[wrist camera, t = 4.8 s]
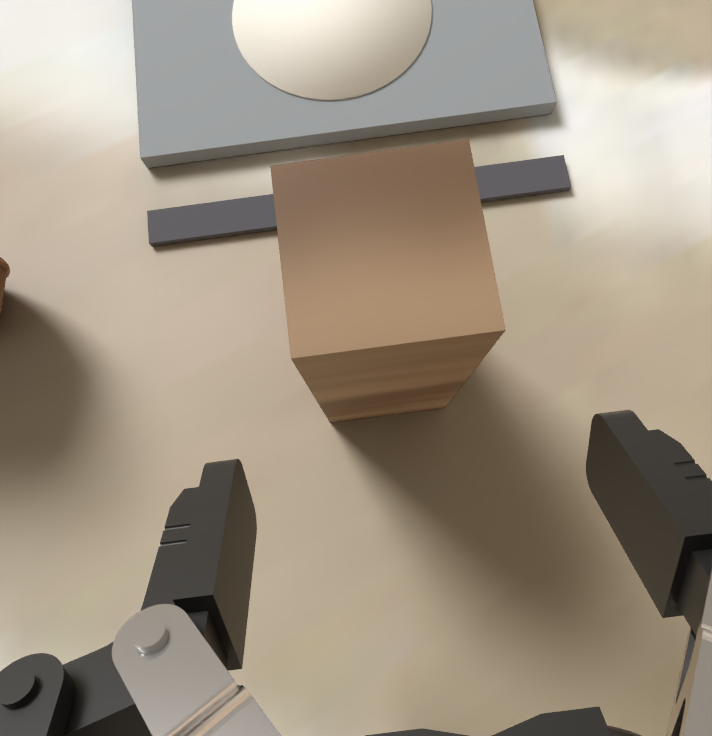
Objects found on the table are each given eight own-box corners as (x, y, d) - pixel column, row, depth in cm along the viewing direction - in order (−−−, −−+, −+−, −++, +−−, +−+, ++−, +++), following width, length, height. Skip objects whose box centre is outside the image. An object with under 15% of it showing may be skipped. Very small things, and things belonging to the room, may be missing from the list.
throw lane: (568, 190, 25) (575, 179, 24) (151, 246, 25) (143, 236, 24) (501, -102, 28) (505, -121, 28) (135, -52, 28) (127, -70, 28)
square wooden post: (445, 407, 23) (505, 329, 12) (330, 422, 23) (291, 358, 12) (427, 298, 24) (468, 139, 13) (317, 312, 24) (270, 165, 13)
